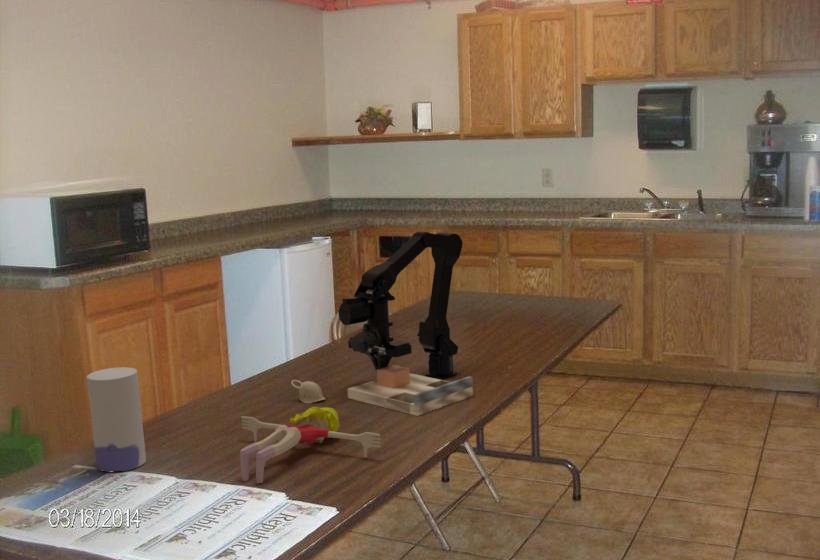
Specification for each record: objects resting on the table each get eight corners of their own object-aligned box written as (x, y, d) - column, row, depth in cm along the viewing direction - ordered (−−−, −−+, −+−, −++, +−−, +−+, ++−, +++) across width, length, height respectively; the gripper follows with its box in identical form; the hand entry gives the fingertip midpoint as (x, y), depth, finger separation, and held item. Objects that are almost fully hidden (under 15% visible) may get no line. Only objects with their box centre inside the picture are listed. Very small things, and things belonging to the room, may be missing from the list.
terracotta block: (394, 379, 234) (393, 364, 234) (410, 383, 230) (409, 368, 229) (377, 384, 230) (376, 369, 229) (393, 388, 226) (392, 373, 225)
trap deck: (403, 380, 242) (402, 362, 241) (472, 396, 225) (472, 376, 224) (348, 398, 228) (346, 379, 228) (417, 415, 211) (416, 395, 210)
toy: (381, 460, 183) (379, 419, 182) (246, 487, 172) (242, 443, 171) (337, 422, 209) (334, 386, 207) (216, 444, 198) (213, 405, 197)
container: (151, 454, 193) (142, 365, 190) (139, 471, 183) (129, 377, 180) (105, 457, 193) (95, 367, 190) (90, 474, 183) (79, 380, 180)
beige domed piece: (318, 404, 224) (316, 384, 223) (290, 401, 228) (289, 381, 227) (326, 400, 228) (325, 379, 227) (299, 397, 232) (297, 377, 231)
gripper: (331, 320, 232) (334, 378, 234) (379, 329, 219) (382, 390, 221) (362, 313, 239) (365, 369, 242) (411, 321, 226) (414, 380, 229)
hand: (380, 377), depth 233 cm, fingers closed
